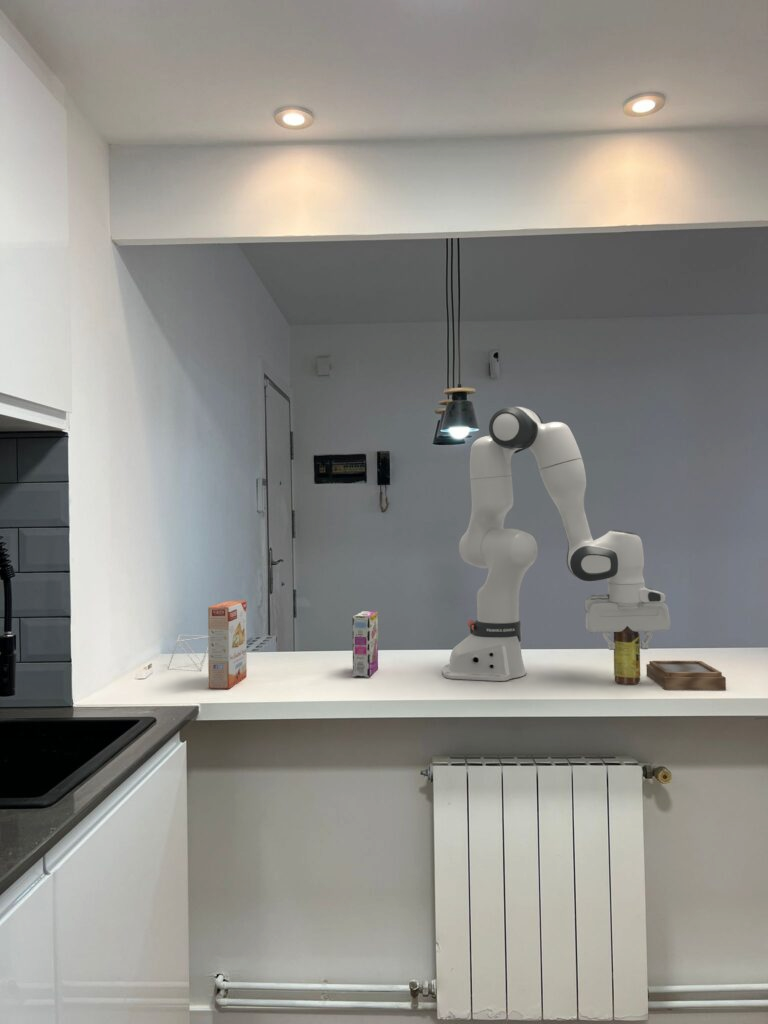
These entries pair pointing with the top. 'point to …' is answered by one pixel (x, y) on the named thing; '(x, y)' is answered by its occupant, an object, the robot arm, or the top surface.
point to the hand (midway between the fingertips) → (628, 649)
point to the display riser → (685, 675)
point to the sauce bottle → (627, 657)
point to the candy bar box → (365, 644)
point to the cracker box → (227, 644)
